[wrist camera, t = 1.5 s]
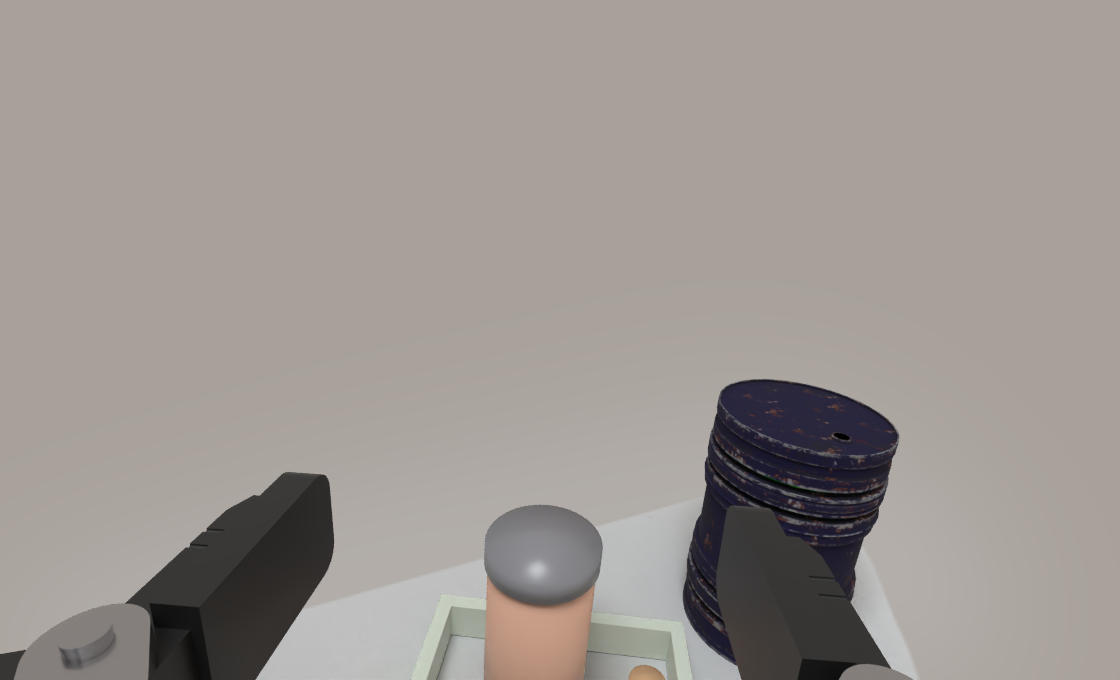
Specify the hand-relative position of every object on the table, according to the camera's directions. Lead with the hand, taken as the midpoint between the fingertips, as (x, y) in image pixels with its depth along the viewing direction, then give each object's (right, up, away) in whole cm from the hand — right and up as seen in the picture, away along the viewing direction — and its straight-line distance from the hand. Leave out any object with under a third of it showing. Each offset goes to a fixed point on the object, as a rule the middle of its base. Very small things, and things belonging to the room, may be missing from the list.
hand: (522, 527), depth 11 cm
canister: (-1, -16, +17) cm, 23 cm away
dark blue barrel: (+14, -15, +25) cm, 32 cm away
